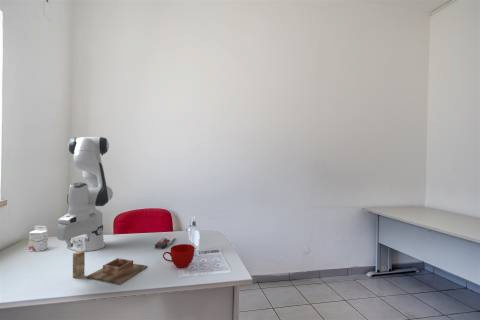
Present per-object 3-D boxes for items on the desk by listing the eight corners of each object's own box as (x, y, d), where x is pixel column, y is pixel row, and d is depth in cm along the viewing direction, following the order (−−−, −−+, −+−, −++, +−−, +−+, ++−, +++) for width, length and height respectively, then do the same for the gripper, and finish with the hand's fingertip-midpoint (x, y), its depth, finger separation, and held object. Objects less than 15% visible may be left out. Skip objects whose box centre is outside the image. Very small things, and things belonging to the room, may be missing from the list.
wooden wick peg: (72, 277, 128) (72, 253, 128) (78, 274, 132) (79, 250, 131) (78, 278, 127) (78, 254, 127) (84, 275, 131) (84, 251, 130)
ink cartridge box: (28, 251, 161) (28, 227, 161) (34, 248, 166) (34, 225, 166) (42, 251, 161) (42, 227, 161) (48, 248, 166) (48, 225, 166)
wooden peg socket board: (86, 278, 128) (86, 268, 128) (116, 262, 147) (117, 253, 147) (120, 284, 122) (120, 274, 122) (147, 267, 141) (147, 258, 141)
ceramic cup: (161, 264, 146) (161, 246, 146) (191, 260, 153) (191, 242, 153) (164, 274, 134) (164, 254, 134) (196, 269, 141) (197, 250, 141)
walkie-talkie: (166, 250, 168) (176, 240, 188) (166, 243, 168) (176, 234, 188) (153, 249, 169) (165, 239, 189) (153, 242, 169) (165, 233, 189)
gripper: (91, 211, 140) (91, 237, 140) (54, 220, 120) (54, 250, 120) (100, 212, 138) (101, 238, 138) (64, 221, 118) (64, 251, 118)
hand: (79, 244), depth 129 cm, fingers open, 8 cm apart
